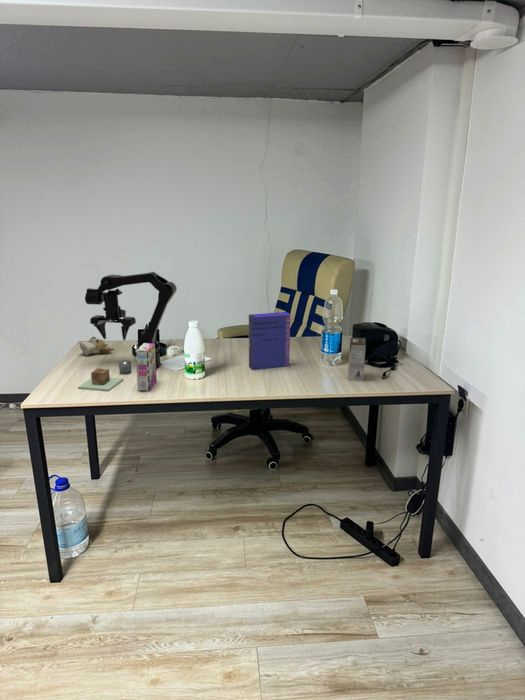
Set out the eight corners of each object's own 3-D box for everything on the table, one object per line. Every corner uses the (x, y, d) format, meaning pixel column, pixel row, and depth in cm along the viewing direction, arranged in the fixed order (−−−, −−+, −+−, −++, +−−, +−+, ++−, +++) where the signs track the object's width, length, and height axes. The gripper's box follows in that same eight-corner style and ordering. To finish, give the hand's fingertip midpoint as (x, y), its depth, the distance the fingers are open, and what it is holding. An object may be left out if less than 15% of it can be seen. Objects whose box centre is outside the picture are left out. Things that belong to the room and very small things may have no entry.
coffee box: (348, 372, 203) (350, 337, 198) (363, 373, 202) (365, 337, 197) (347, 380, 194) (350, 343, 189) (363, 381, 193) (366, 343, 188)
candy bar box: (150, 391, 181) (147, 351, 176) (137, 391, 181) (134, 350, 177) (157, 381, 192) (155, 342, 187) (145, 381, 192) (142, 342, 187)
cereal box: (285, 363, 215) (286, 311, 208) (289, 366, 211) (290, 313, 203) (248, 366, 210) (248, 314, 203) (251, 370, 205) (251, 316, 198)
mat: (123, 380, 193) (123, 378, 192) (108, 391, 181) (108, 389, 181) (94, 378, 195) (94, 376, 195) (78, 388, 184) (77, 386, 183)
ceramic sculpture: (75, 335, 225) (107, 332, 234) (76, 353, 227) (107, 349, 236) (82, 340, 217) (114, 337, 226) (83, 358, 219) (115, 355, 228)
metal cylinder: (133, 371, 204) (132, 360, 202) (128, 375, 199) (127, 363, 197) (122, 370, 204) (121, 359, 203) (117, 374, 200) (116, 363, 198)
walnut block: (110, 380, 190) (108, 369, 188) (103, 385, 185) (102, 373, 184) (98, 380, 191) (97, 368, 189) (92, 384, 186) (90, 372, 184)
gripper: (139, 302, 208) (142, 335, 213) (101, 300, 212) (104, 333, 216) (128, 307, 198) (131, 342, 203) (87, 305, 201) (91, 340, 206)
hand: (114, 339), depth 207 cm, fingers open, 9 cm apart
